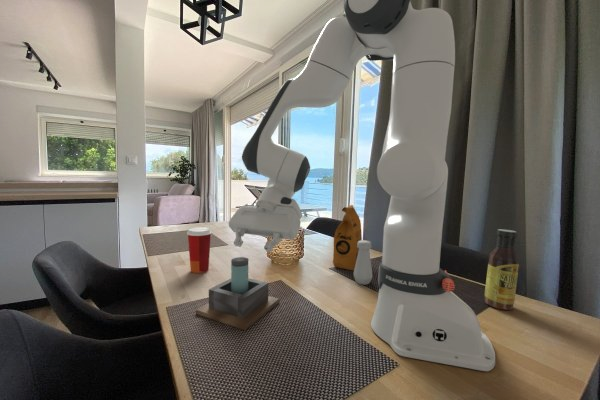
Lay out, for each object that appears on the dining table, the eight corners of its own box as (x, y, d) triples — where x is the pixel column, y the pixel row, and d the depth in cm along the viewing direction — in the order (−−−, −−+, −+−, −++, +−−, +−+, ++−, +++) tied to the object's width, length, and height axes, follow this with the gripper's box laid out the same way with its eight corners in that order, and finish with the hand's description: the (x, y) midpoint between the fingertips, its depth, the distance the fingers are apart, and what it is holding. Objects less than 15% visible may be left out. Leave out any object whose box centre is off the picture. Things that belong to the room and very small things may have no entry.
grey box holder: (279, 302, 68) (279, 281, 67) (245, 330, 55) (245, 304, 54) (235, 291, 74) (235, 271, 73) (195, 313, 61) (195, 290, 61)
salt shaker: (372, 286, 79) (374, 244, 78) (353, 284, 80) (355, 242, 79) (371, 279, 84) (373, 239, 83) (353, 277, 86) (354, 238, 84)
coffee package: (328, 267, 95) (330, 206, 94) (339, 258, 106) (341, 203, 105) (355, 272, 91) (357, 208, 89) (364, 262, 102) (366, 205, 100)
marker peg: (251, 302, 65) (251, 258, 64) (241, 309, 61) (241, 263, 60) (238, 298, 67) (238, 256, 66) (227, 305, 63) (227, 260, 62)
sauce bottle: (499, 312, 65) (506, 233, 63) (477, 300, 71) (484, 228, 70) (521, 310, 66) (529, 232, 65) (498, 299, 73) (504, 227, 71)
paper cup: (211, 265, 94) (211, 226, 93) (211, 273, 87) (211, 231, 85) (187, 267, 91) (187, 227, 90) (185, 275, 84) (185, 232, 83)
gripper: (237, 197, 77) (213, 236, 69) (301, 200, 69) (282, 246, 61) (247, 210, 82) (225, 249, 74) (307, 215, 73) (290, 259, 65)
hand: (251, 247), depth 67 cm, fingers open, 8 cm apart
